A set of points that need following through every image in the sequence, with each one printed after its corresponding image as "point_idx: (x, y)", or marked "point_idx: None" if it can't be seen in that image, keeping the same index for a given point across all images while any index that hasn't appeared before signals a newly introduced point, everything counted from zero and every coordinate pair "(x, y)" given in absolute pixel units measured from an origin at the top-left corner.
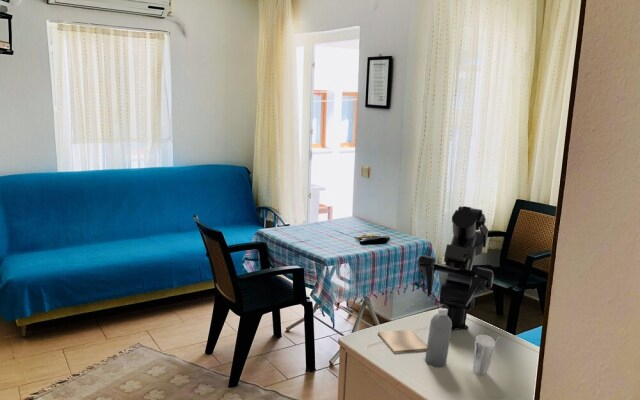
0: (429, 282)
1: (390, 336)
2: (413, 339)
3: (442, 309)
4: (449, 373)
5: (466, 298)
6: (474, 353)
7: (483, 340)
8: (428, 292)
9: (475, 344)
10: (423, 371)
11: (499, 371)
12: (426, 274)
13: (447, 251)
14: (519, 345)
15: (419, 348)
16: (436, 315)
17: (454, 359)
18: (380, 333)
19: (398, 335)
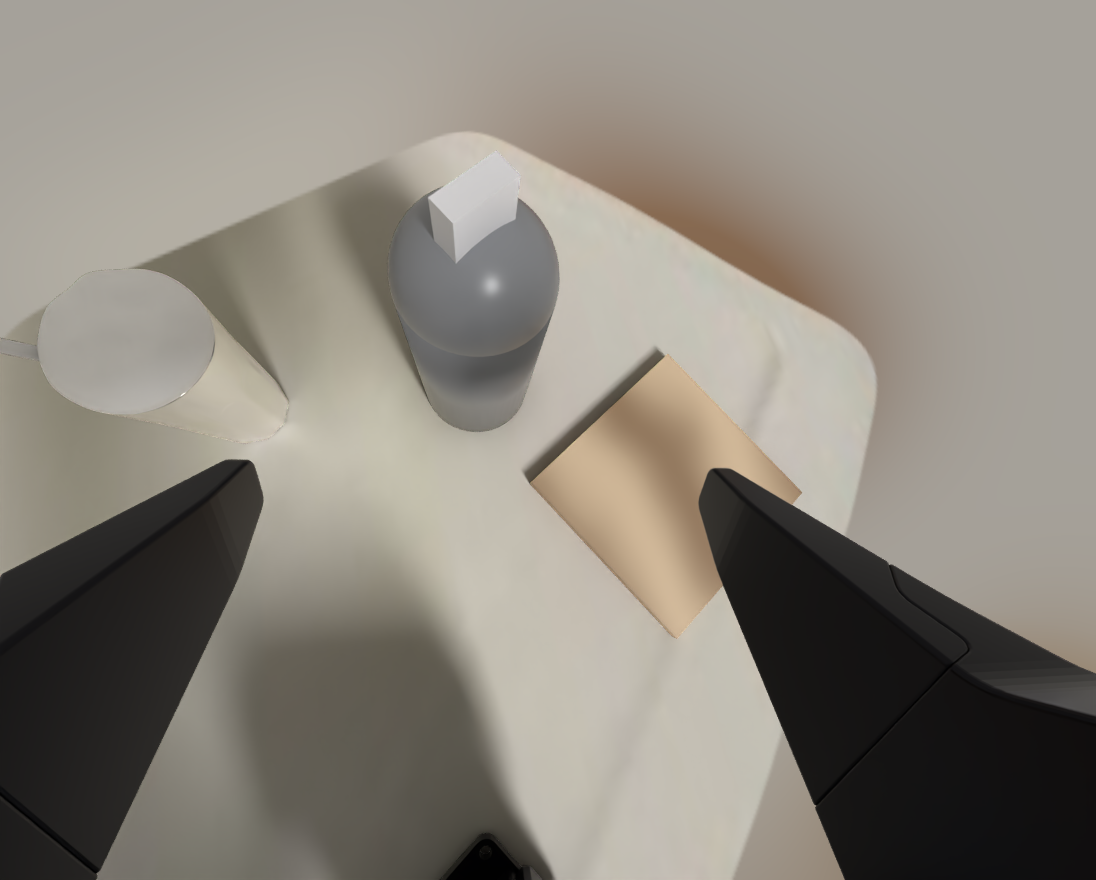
0: (856, 562)
1: None
2: (630, 523)
3: (482, 176)
4: (396, 318)
5: (196, 502)
6: (251, 365)
7: (129, 275)
8: (742, 480)
9: (220, 325)
10: None
11: (143, 475)
12: (1073, 669)
13: None
14: None
15: (575, 444)
16: (525, 221)
17: (393, 463)
18: (786, 484)
19: None
